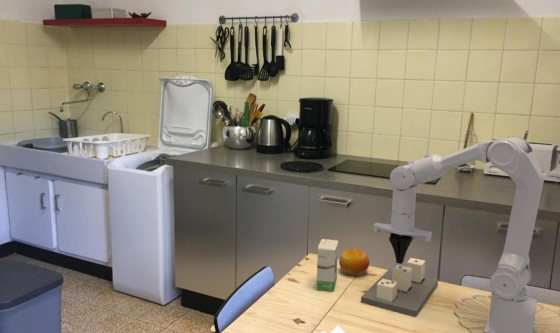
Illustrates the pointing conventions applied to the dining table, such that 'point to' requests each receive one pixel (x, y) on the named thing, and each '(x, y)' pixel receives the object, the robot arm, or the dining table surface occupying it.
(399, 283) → the key two
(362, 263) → the fruit
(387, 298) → the key three
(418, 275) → the key one
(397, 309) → the keypad board
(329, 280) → the ink box
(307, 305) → the dining table surface
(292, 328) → the dining table surface
